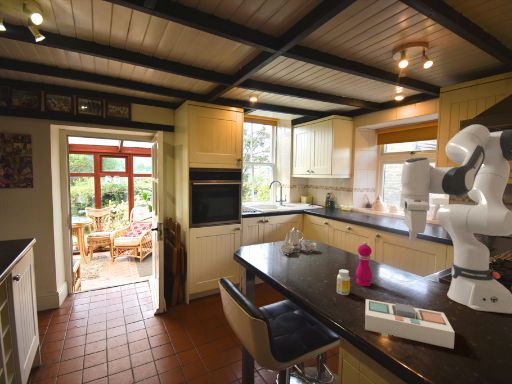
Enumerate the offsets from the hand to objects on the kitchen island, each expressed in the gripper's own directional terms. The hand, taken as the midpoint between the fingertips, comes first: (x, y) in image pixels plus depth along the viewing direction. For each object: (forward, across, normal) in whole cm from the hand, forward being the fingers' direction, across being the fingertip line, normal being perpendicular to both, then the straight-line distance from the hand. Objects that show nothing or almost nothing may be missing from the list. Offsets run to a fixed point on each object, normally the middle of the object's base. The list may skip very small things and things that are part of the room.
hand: (412, 240), depth 95 cm
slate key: (+24, +11, -3) cm, 26 cm away
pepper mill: (+27, -22, -16) cm, 39 cm away
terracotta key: (+25, +11, +5) cm, 28 cm away
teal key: (+25, +11, -11) cm, 29 cm away
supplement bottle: (+27, -8, -24) cm, 37 cm away
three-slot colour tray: (+27, +12, -3) cm, 30 cm away
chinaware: (+27, -60, -58) cm, 88 cm away
